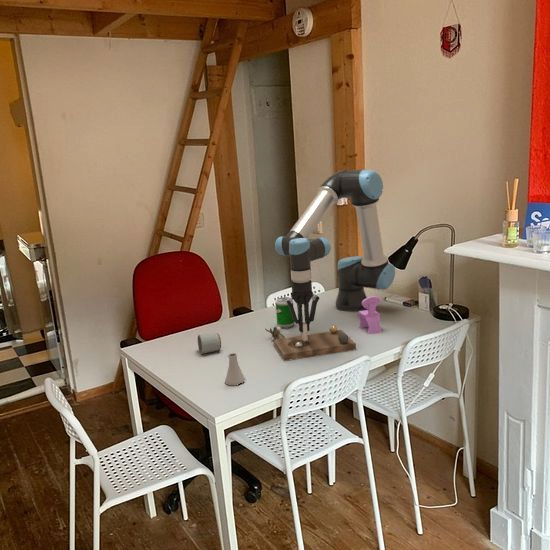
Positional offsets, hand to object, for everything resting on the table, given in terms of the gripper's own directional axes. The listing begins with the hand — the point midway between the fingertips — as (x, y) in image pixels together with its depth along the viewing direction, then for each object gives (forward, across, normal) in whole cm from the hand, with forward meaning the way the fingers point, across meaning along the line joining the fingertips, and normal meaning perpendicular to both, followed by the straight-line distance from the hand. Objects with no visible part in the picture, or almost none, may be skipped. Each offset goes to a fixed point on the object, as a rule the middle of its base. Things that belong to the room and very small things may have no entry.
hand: (304, 339), depth 221 cm
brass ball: (0, -14, -6) cm, 15 cm away
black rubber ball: (0, -14, +6) cm, 15 cm away
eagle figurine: (+4, +8, -13) cm, 16 cm away
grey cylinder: (+4, +36, -14) cm, 39 cm away
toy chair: (+4, -30, -10) cm, 32 cm away
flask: (+4, +30, +19) cm, 36 cm away
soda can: (+4, 0, -29) cm, 29 cm away
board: (+4, -4, 0) cm, 5 cm away
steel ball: (+2, +2, 0) cm, 3 cm away
